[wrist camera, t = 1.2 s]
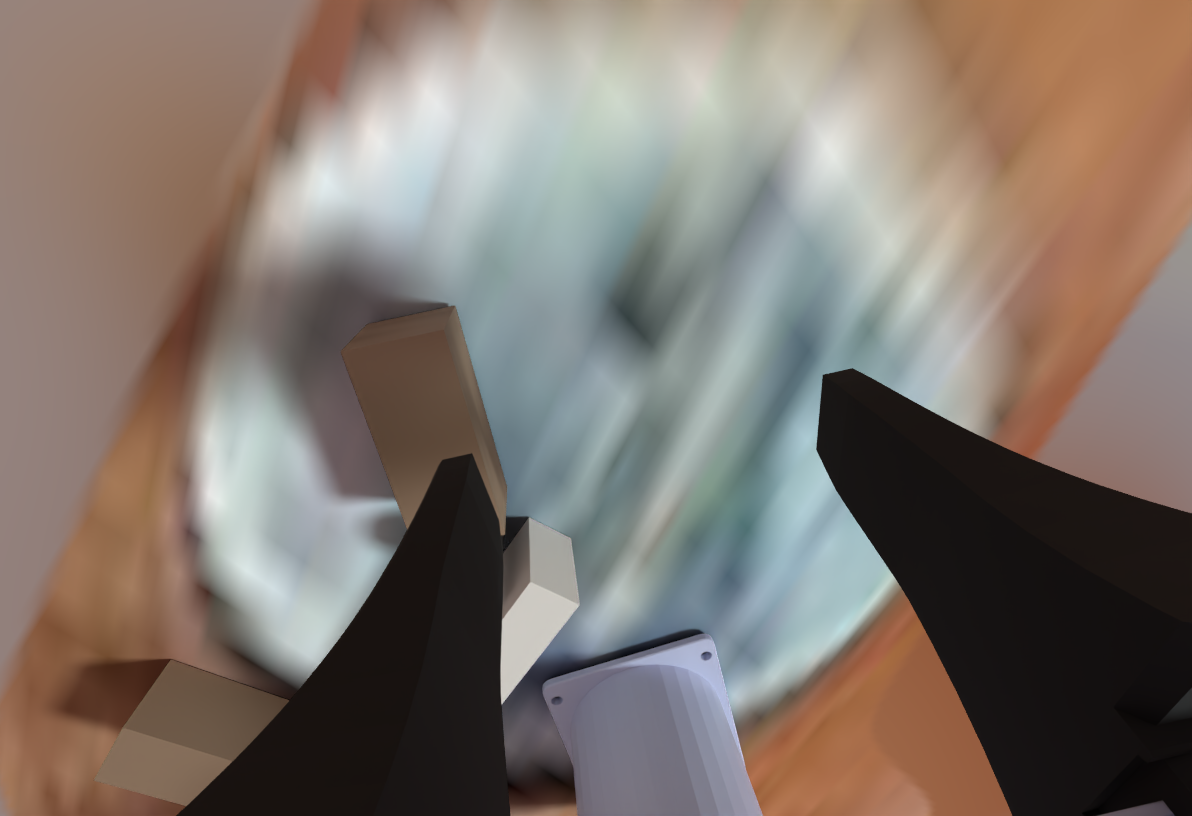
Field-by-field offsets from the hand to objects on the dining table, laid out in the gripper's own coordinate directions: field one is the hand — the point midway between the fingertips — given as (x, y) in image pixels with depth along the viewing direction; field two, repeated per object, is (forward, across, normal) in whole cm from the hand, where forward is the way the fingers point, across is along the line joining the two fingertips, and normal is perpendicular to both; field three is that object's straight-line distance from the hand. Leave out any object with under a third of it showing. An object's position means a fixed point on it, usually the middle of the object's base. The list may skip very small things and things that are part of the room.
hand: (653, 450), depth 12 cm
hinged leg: (+8, +6, +5) cm, 12 cm away
